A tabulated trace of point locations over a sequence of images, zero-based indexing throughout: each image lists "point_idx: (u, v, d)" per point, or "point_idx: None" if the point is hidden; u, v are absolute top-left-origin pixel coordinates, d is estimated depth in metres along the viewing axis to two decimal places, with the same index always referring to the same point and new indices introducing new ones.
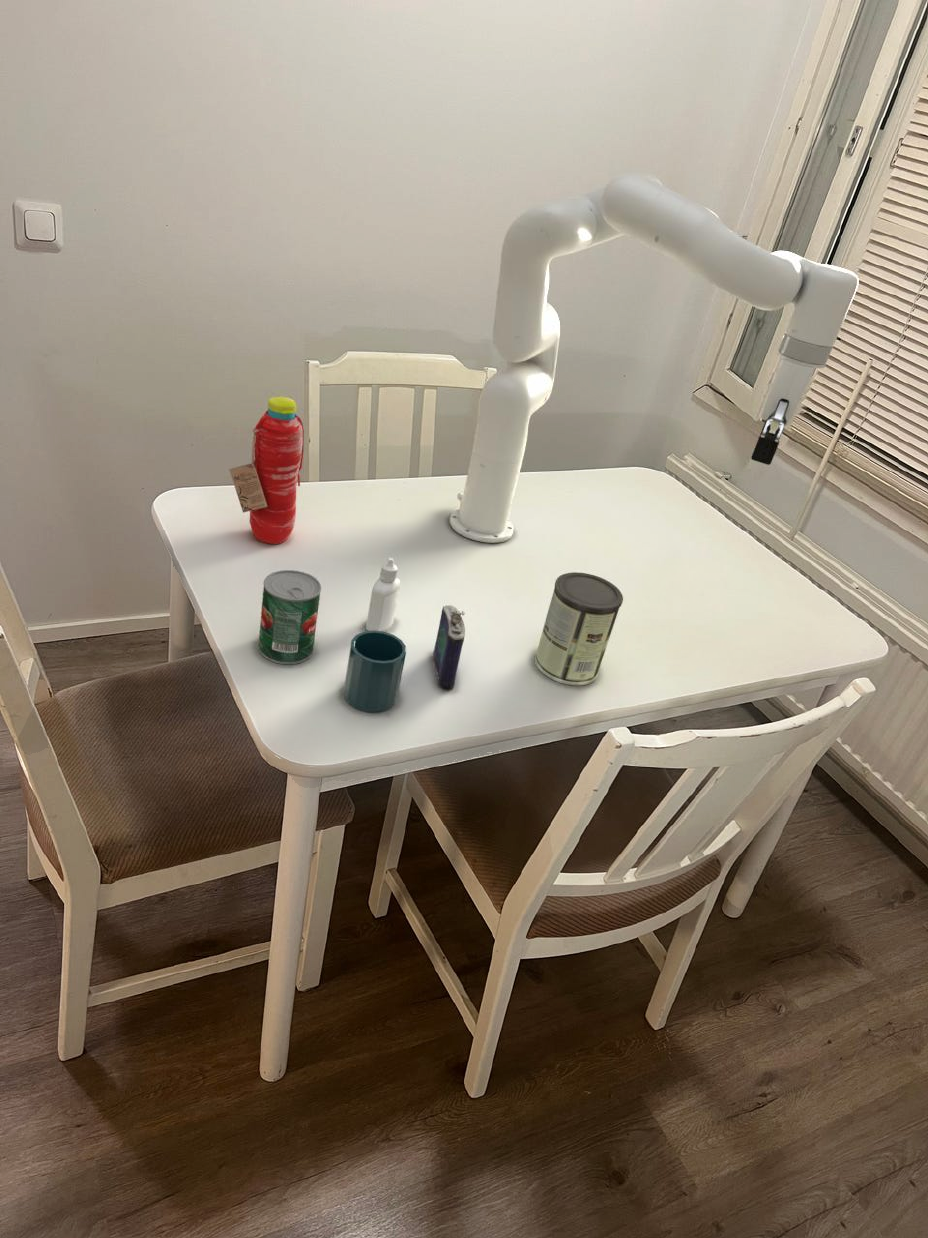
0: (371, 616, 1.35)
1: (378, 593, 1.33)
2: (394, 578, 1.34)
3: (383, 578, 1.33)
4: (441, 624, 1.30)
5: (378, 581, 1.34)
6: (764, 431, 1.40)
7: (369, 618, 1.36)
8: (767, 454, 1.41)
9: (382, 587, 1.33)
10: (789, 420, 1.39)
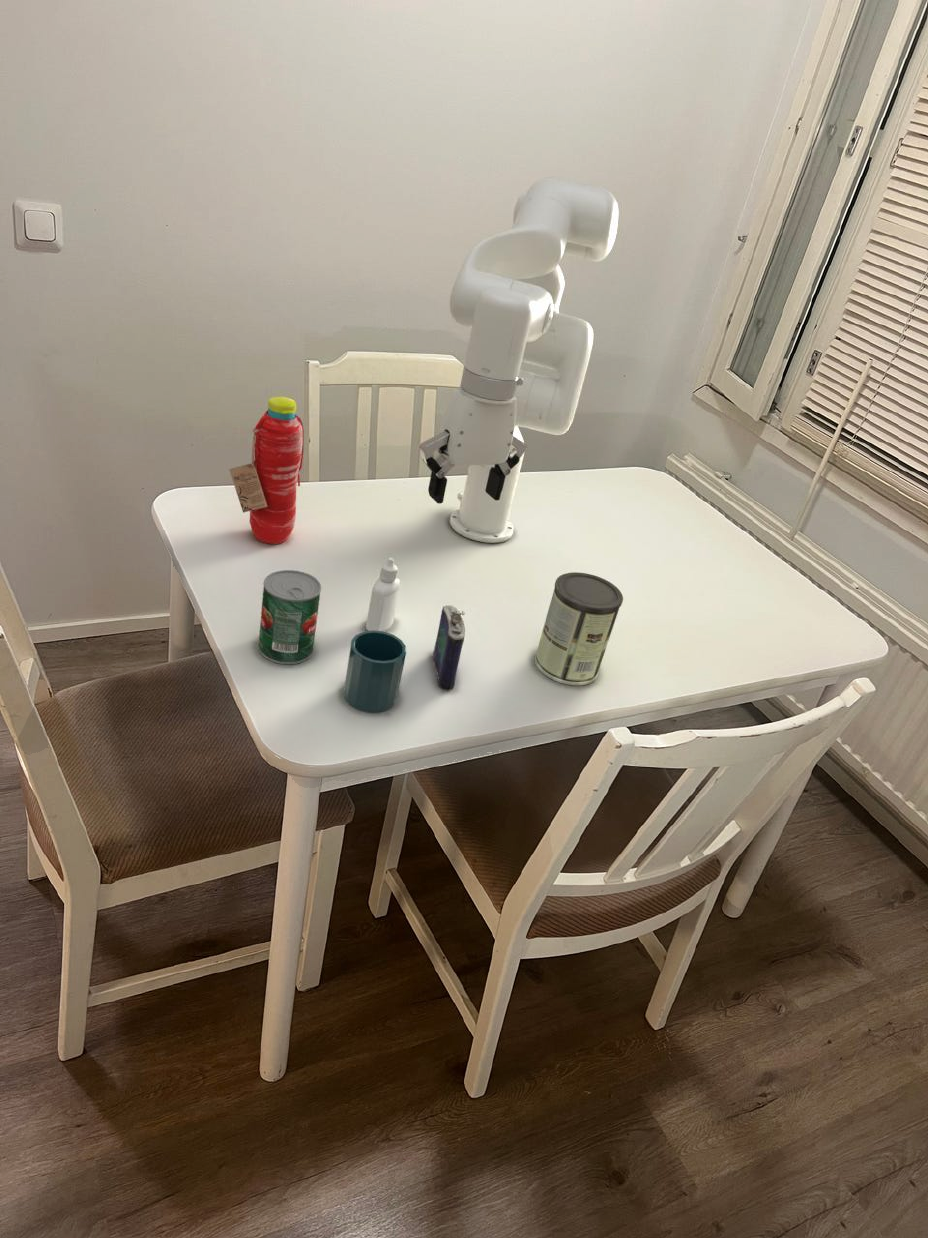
0: (371, 616, 1.35)
1: (378, 593, 1.33)
2: (394, 578, 1.34)
3: (383, 578, 1.33)
4: (441, 624, 1.30)
5: (378, 581, 1.34)
6: None
7: (369, 618, 1.36)
8: (433, 490, 1.26)
9: (382, 587, 1.33)
10: (451, 455, 1.23)
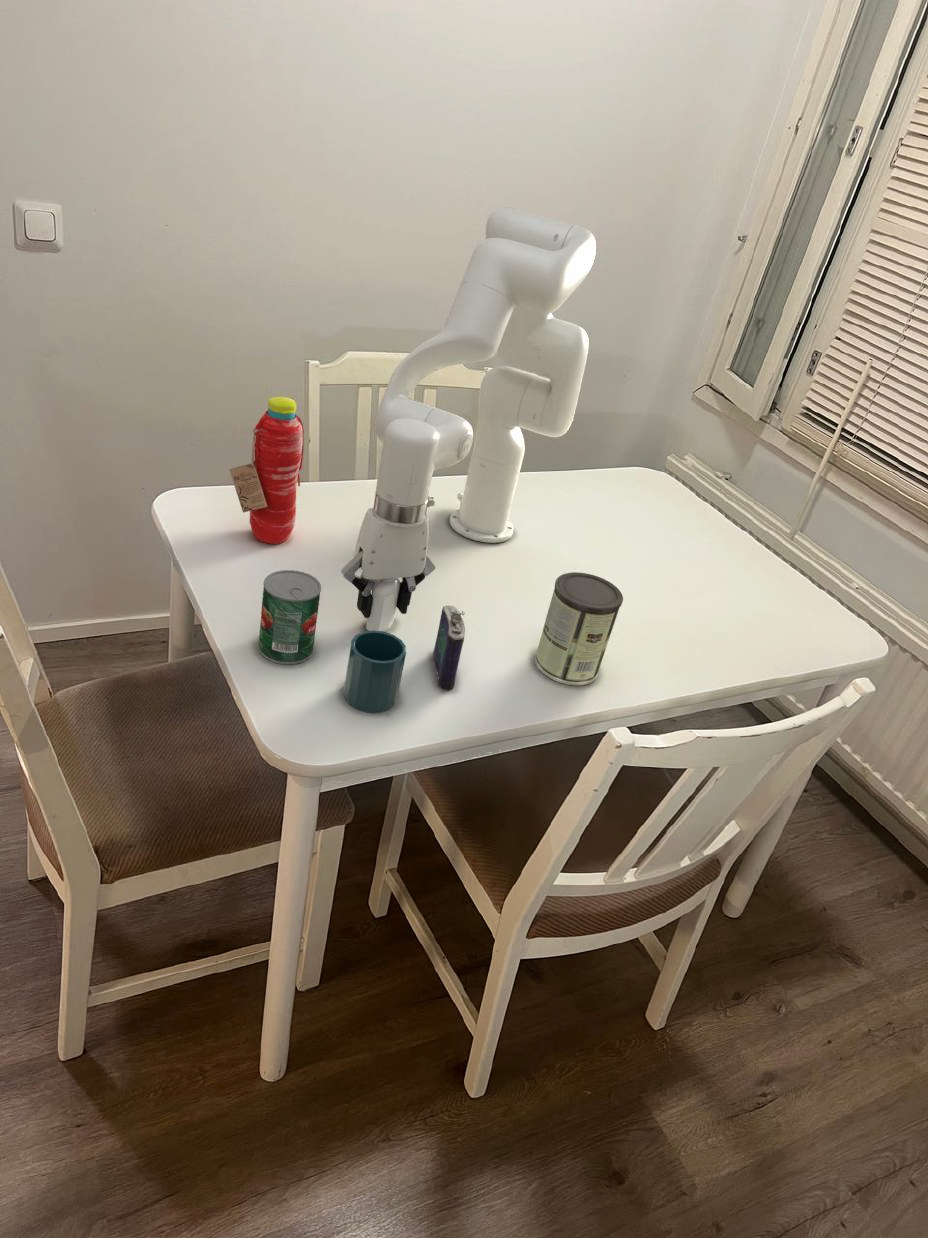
0: (371, 616, 1.35)
1: (378, 593, 1.33)
2: (394, 578, 1.34)
3: None
4: (441, 624, 1.30)
5: (378, 581, 1.34)
6: None
7: (369, 618, 1.36)
8: (360, 606, 1.34)
9: (382, 587, 1.33)
10: (364, 572, 1.29)
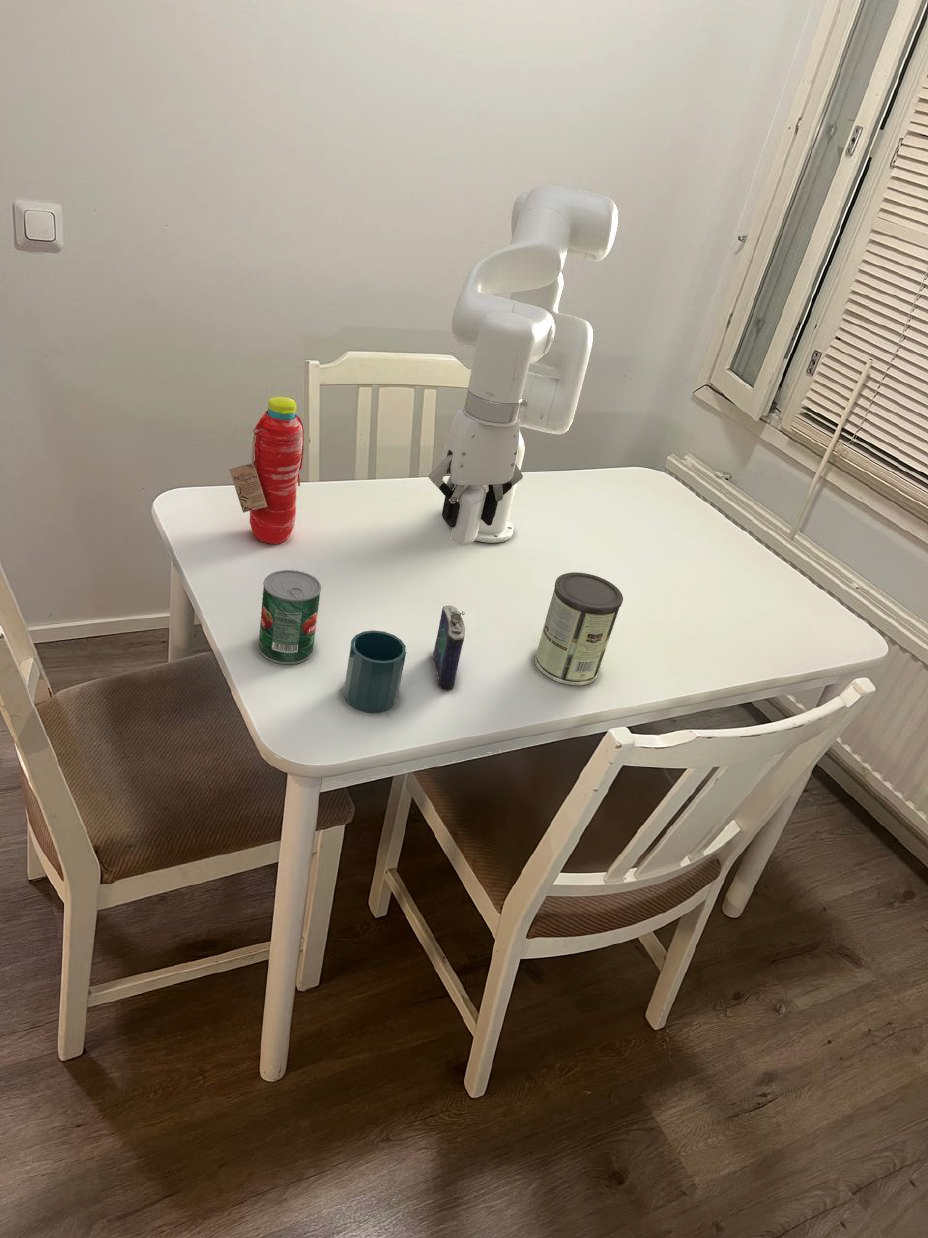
0: (456, 526, 1.30)
1: (465, 501, 1.28)
2: (482, 485, 1.29)
3: (470, 485, 1.29)
4: (441, 624, 1.30)
5: (465, 489, 1.29)
6: None
7: (454, 527, 1.31)
8: (446, 514, 1.30)
9: (470, 494, 1.28)
10: (453, 475, 1.25)
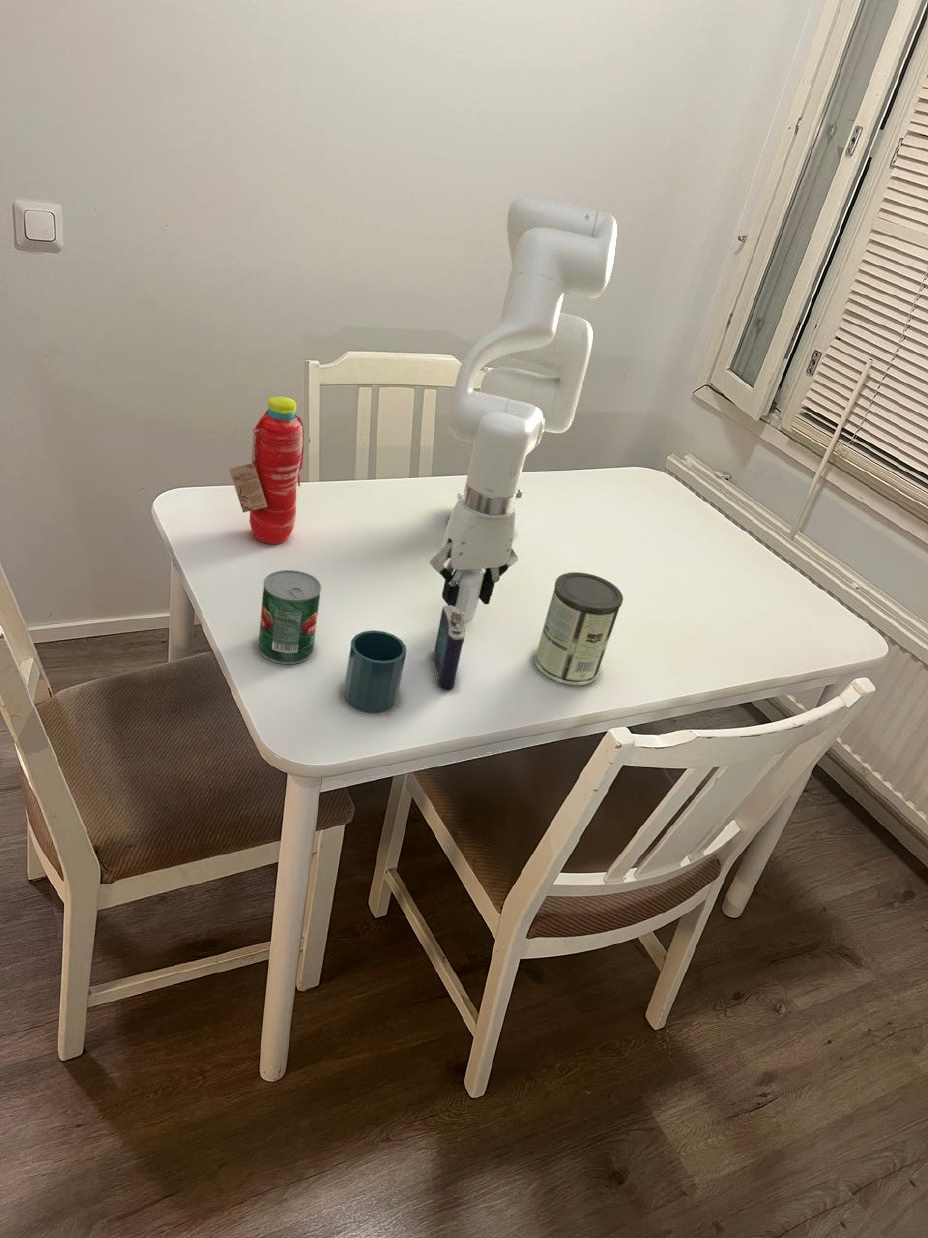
0: (456, 607, 1.39)
1: (464, 584, 1.36)
2: (480, 569, 1.37)
3: None
4: (441, 624, 1.30)
5: (464, 572, 1.37)
6: None
7: None
8: (446, 596, 1.38)
9: (469, 577, 1.36)
10: (453, 562, 1.33)
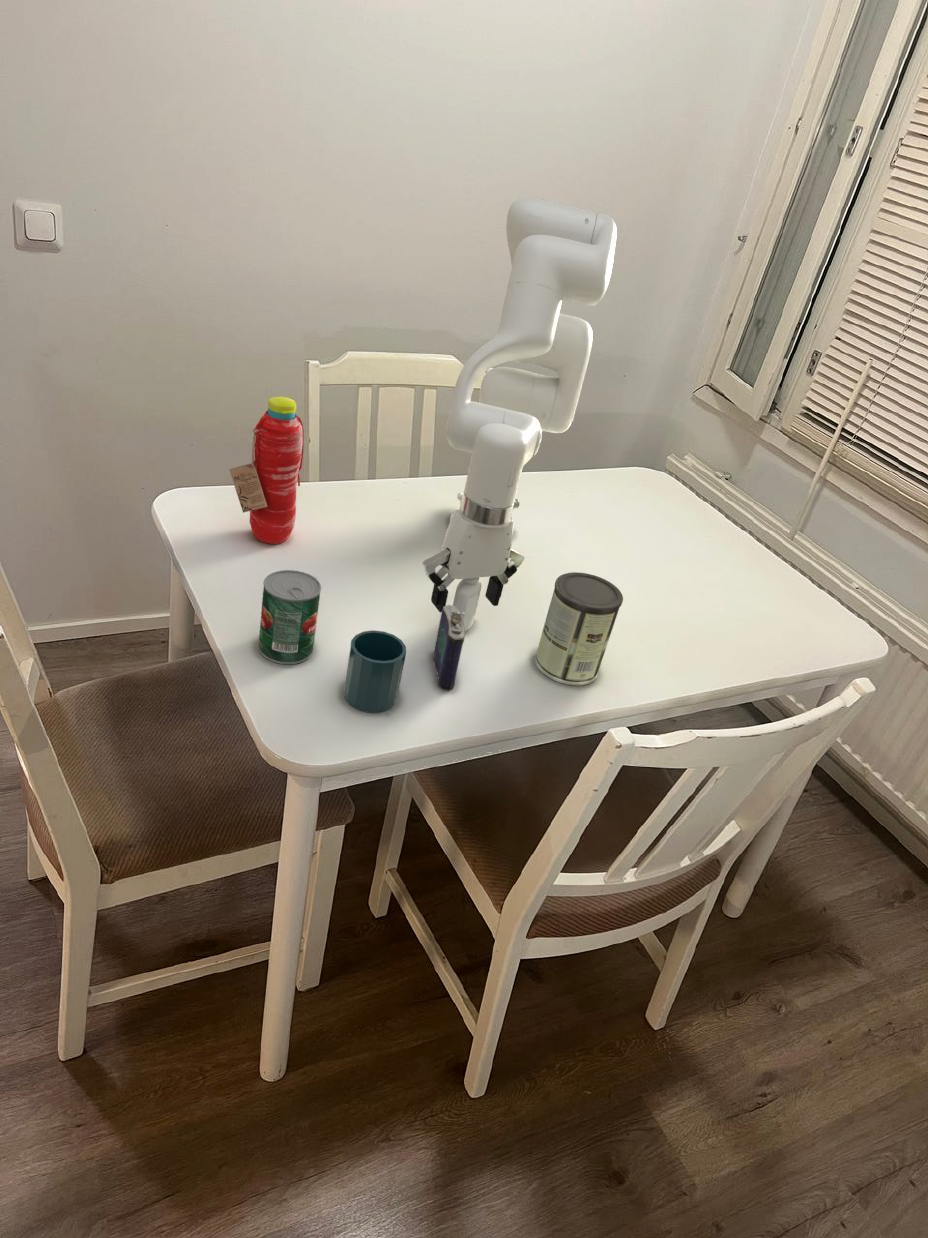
0: None
1: (462, 595, 1.37)
2: (477, 580, 1.38)
3: (466, 580, 1.38)
4: (441, 624, 1.30)
5: (461, 583, 1.38)
6: None
7: None
8: (435, 600, 1.37)
9: (466, 588, 1.37)
10: (451, 571, 1.34)
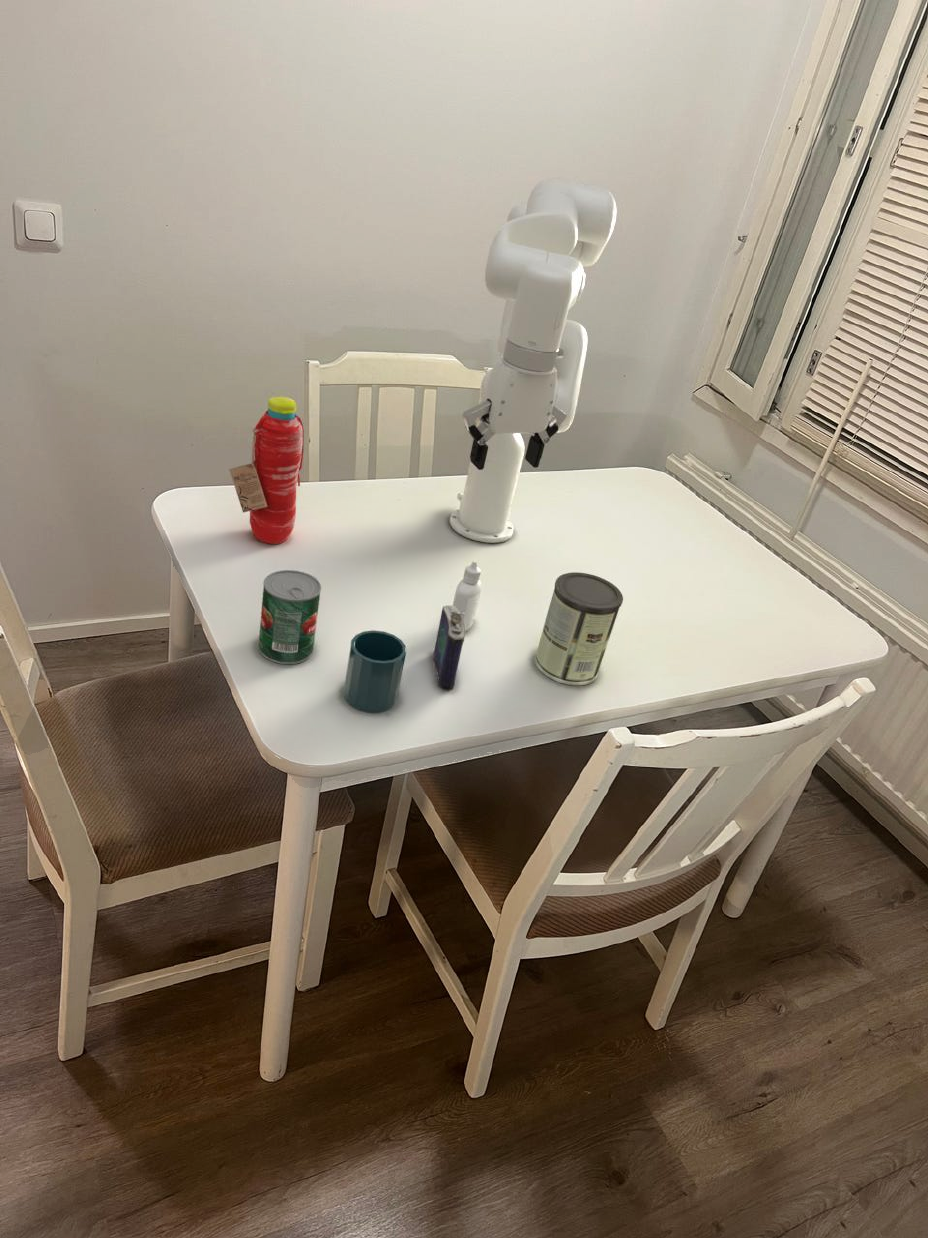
0: None
1: (462, 595, 1.37)
2: (477, 580, 1.38)
3: (466, 580, 1.38)
4: (441, 624, 1.30)
5: (462, 583, 1.38)
6: None
7: None
8: (474, 457, 1.32)
9: (466, 588, 1.37)
10: (492, 423, 1.29)
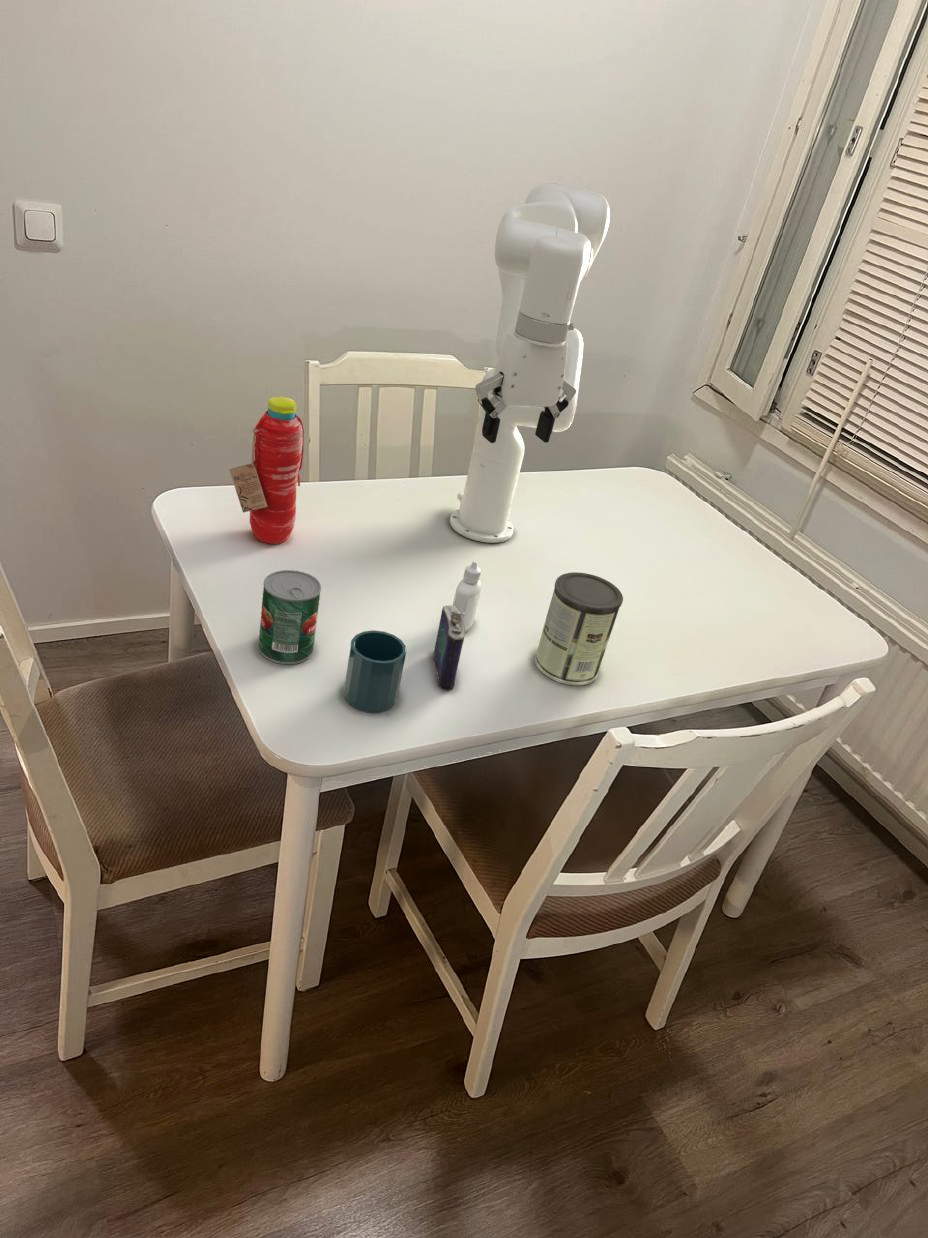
0: None
1: (462, 595, 1.37)
2: (477, 580, 1.38)
3: (466, 580, 1.38)
4: (441, 624, 1.30)
5: (462, 583, 1.38)
6: None
7: None
8: (486, 430, 1.34)
9: (466, 588, 1.37)
10: (504, 396, 1.31)
